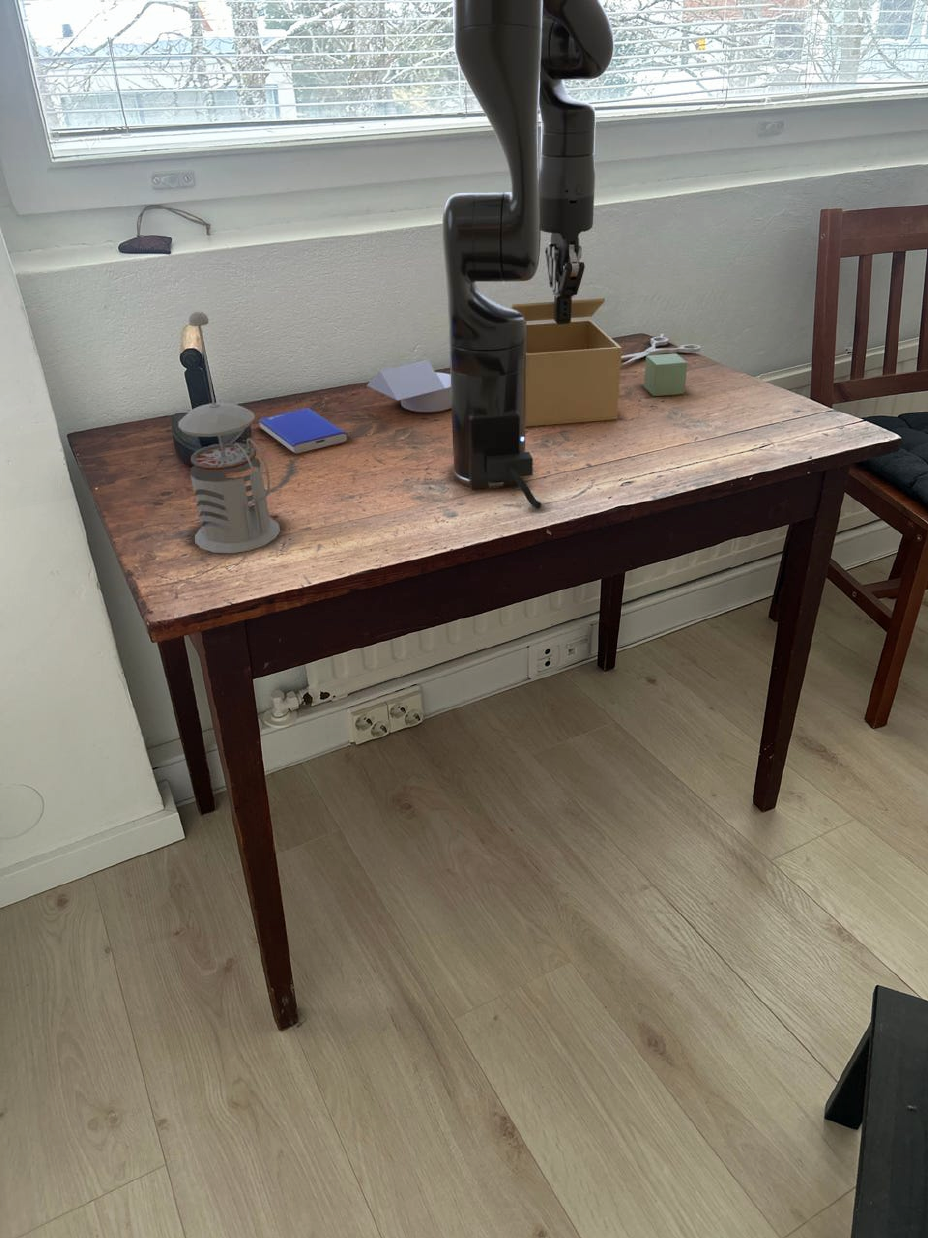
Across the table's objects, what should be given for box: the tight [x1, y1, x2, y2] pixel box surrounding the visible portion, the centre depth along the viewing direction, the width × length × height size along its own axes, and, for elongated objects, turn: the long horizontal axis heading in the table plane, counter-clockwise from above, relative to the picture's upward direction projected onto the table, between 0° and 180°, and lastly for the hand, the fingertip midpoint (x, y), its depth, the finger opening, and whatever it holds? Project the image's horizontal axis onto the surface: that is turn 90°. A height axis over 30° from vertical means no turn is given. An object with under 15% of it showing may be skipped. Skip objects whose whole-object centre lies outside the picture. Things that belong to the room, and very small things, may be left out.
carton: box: [525, 319, 623, 428], centre depth 135 cm, size 16×14×10 cm
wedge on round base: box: [366, 359, 452, 413], centre depth 138 cm, size 9×7×13 cm
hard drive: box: [258, 407, 348, 455], centre depth 129 cm, size 2×8×12 cm
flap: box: [510, 297, 606, 322], centre depth 134 cm, size 8×14×1 cm
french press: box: [177, 311, 281, 554], centre depth 96 cm, size 10×12×25 cm
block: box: [643, 352, 689, 397], centre depth 141 cm, size 5×5×5 cm
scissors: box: [621, 333, 701, 366], centre depth 158 cm, size 11×1×20 cm
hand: (562, 322), depth 130 cm, fingers closed
